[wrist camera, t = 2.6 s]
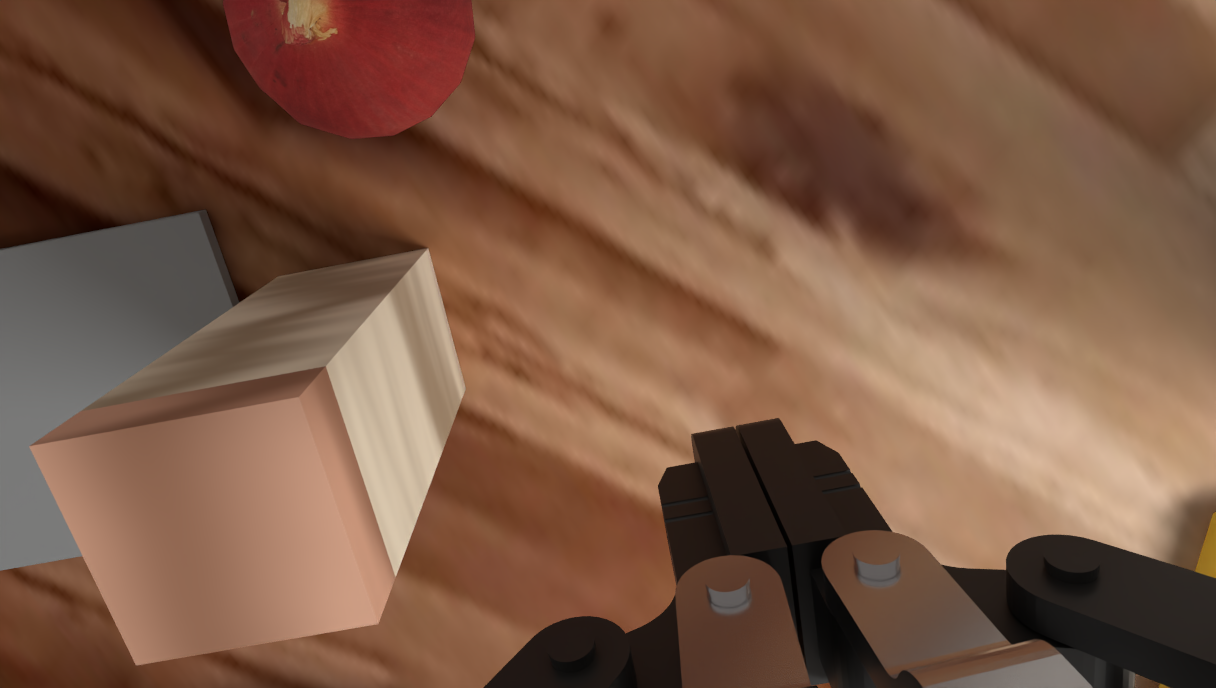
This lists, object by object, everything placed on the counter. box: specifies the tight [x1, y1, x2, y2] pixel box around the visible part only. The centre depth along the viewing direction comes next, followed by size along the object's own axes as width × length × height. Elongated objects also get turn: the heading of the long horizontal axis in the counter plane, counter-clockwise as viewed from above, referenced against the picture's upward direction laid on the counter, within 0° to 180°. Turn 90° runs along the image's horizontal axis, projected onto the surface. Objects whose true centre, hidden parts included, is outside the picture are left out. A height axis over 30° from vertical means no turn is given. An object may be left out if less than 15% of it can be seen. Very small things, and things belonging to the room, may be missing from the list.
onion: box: [223, 0, 475, 139], centre depth 19 cm, size 6×6×8 cm
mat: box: [0, 210, 239, 570], centre depth 26 cm, size 12×11×1 cm
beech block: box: [29, 248, 466, 665], centre depth 20 cm, size 5×5×12 cm
